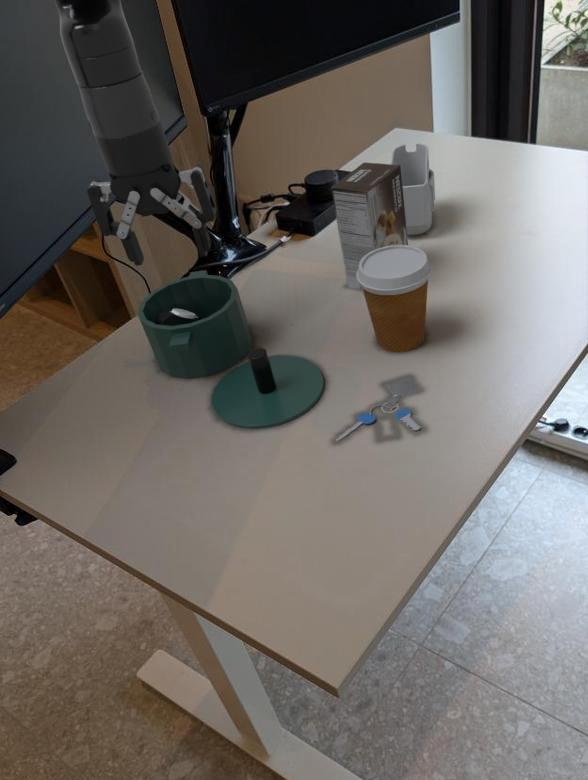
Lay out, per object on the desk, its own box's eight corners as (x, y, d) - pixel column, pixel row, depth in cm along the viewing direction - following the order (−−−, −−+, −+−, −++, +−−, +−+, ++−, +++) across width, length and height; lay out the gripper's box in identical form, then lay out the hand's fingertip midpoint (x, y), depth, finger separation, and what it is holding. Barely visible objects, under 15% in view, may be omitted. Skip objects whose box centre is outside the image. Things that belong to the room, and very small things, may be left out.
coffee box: (376, 262, 110) (364, 160, 99) (411, 268, 107) (402, 164, 96) (346, 290, 105) (329, 186, 94) (382, 297, 102) (368, 191, 91)
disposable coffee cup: (354, 341, 95) (340, 262, 86) (409, 315, 98) (402, 235, 89) (392, 372, 89) (382, 289, 80) (450, 343, 92) (446, 260, 83)
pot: (148, 399, 92) (124, 346, 86) (170, 323, 105) (151, 273, 99) (246, 386, 91) (229, 332, 85) (256, 311, 104) (242, 260, 98)
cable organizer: (396, 246, 113) (388, 173, 105) (399, 213, 122) (393, 143, 113) (436, 243, 112) (432, 168, 104) (437, 210, 121) (433, 139, 112)
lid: (207, 439, 84) (191, 397, 79) (220, 369, 94) (206, 328, 90) (324, 424, 83) (315, 381, 78) (324, 355, 94) (316, 313, 89)
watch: (169, 314, 93) (155, 299, 94) (158, 343, 95) (144, 328, 96) (213, 319, 99) (199, 305, 100) (201, 346, 101) (188, 332, 102)
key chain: (396, 377, 88) (395, 371, 87) (453, 393, 84) (452, 388, 83) (334, 443, 80) (333, 438, 80) (394, 464, 76) (393, 459, 76)
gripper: (192, 103, 78) (229, 237, 90) (73, 121, 79) (124, 252, 90) (182, 124, 73) (223, 264, 84) (54, 143, 74) (111, 279, 85)
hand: (172, 258), depth 87 cm, fingers open, 8 cm apart
